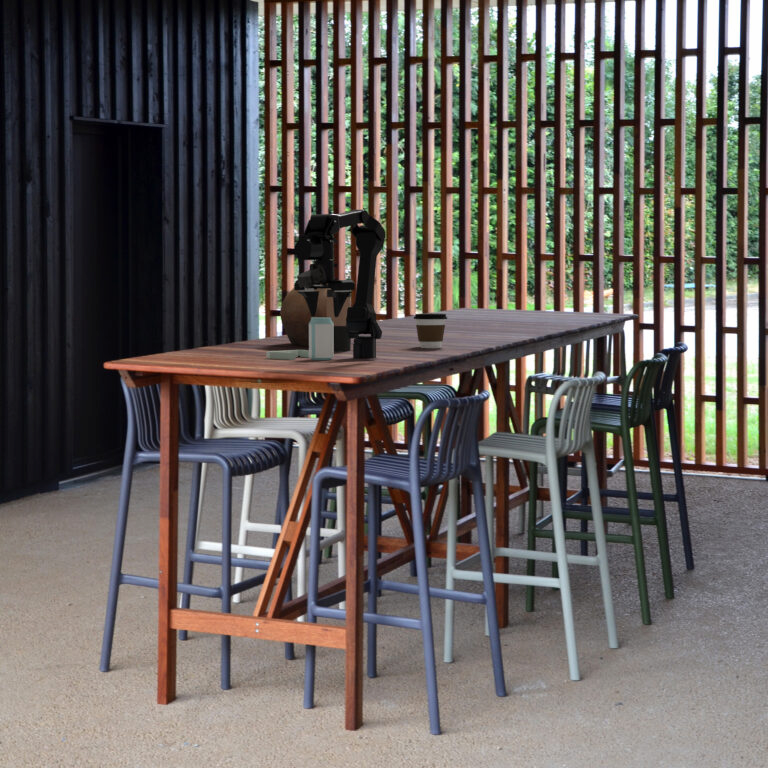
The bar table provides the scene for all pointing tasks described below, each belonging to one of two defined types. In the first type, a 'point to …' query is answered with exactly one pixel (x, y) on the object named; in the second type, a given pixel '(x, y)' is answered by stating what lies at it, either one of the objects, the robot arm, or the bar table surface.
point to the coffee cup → (430, 329)
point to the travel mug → (339, 323)
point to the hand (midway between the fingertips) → (324, 316)
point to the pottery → (301, 315)
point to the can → (321, 339)
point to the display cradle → (287, 354)
